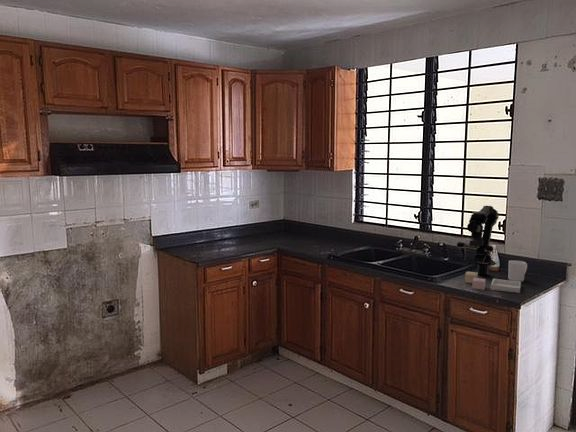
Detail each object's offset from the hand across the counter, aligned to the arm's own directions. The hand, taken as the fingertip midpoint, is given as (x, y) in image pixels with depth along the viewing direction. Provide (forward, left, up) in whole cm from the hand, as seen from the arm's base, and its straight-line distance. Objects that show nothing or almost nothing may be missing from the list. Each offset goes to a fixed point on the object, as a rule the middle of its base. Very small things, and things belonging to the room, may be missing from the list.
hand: (472, 262), depth 265 cm
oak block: (-1, -1, -12) cm, 12 cm away
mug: (-18, +22, -12) cm, 31 cm away
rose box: (+9, +4, -12) cm, 15 cm away
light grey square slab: (+3, +17, -12) cm, 21 cm away
